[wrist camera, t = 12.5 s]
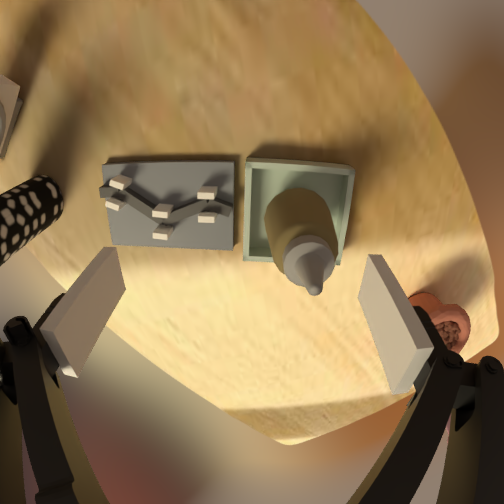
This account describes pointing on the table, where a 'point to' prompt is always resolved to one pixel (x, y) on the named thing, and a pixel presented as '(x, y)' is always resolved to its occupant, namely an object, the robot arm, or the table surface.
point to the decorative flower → (446, 323)
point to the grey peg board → (170, 203)
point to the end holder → (288, 177)
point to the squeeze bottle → (302, 237)
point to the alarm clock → (8, 111)
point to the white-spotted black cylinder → (27, 213)
